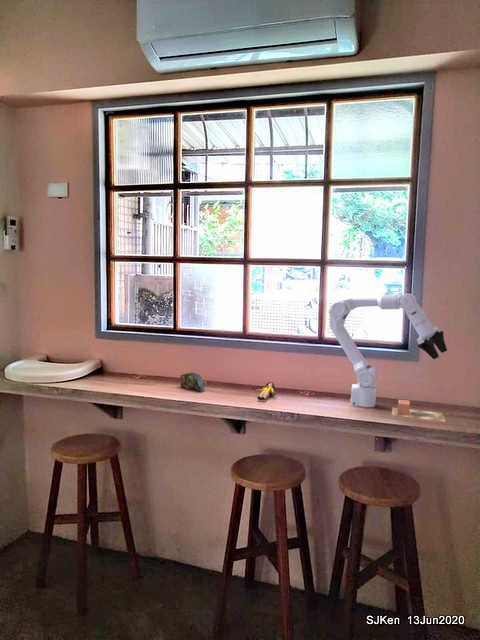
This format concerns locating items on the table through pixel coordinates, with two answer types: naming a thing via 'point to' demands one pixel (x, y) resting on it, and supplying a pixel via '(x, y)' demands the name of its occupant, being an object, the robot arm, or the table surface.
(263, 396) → the toy
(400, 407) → the block
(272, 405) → the table surface
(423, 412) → the board
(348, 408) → the table surface
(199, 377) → the sculpture
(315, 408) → the table surface
